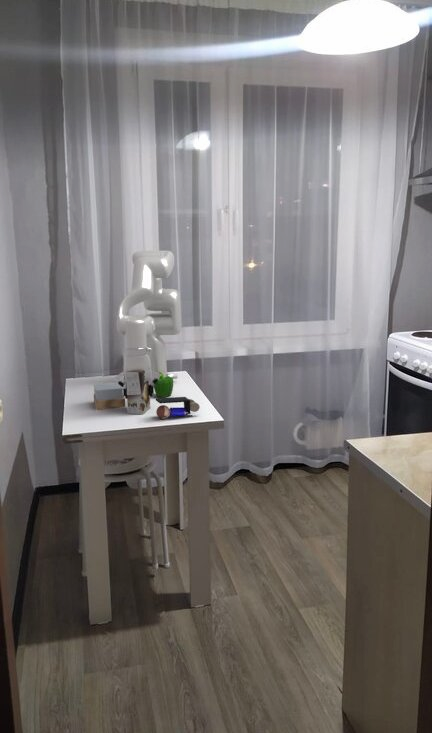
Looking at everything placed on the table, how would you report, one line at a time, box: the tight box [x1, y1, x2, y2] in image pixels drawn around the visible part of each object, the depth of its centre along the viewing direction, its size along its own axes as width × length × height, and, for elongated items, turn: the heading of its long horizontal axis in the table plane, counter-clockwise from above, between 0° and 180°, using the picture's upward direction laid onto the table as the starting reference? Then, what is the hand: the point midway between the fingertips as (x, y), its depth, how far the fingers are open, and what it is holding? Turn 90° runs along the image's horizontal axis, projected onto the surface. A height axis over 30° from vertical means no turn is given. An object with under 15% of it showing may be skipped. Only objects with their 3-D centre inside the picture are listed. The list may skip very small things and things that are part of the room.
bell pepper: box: [154, 372, 174, 398], centre depth 239 cm, size 8×8×10 cm
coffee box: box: [126, 370, 151, 415], centre depth 217 cm, size 9×6×16 cm
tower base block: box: [93, 393, 126, 411], centre depth 227 cm, size 11×11×4 cm
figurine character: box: [155, 396, 201, 420], centre depth 211 cm, size 7×8×15 cm
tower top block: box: [93, 382, 123, 401], centre depth 226 cm, size 10×10×4 cm
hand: (138, 396), depth 218 cm, fingers closed on coffee box, 8 cm apart
